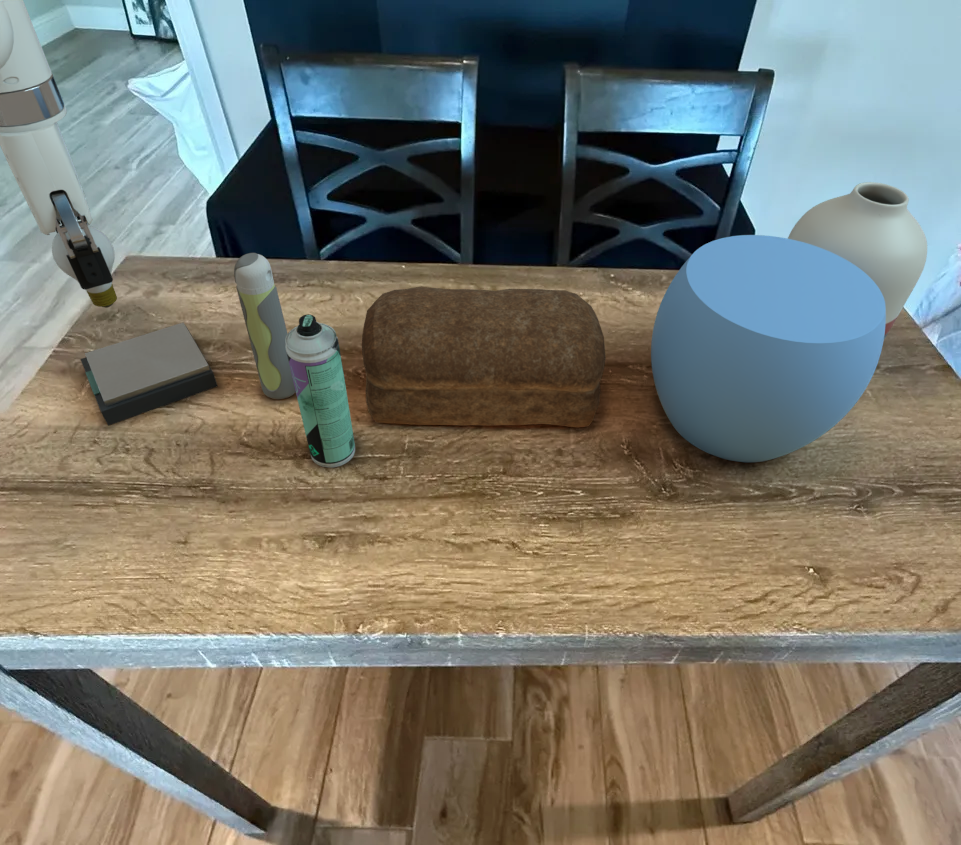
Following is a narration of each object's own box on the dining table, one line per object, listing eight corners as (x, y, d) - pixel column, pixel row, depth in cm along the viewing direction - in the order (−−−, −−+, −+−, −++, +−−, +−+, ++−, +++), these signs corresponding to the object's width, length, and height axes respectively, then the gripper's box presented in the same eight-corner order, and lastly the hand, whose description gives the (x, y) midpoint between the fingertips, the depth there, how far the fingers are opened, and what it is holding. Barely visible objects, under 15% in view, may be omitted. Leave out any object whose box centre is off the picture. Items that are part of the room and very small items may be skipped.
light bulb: (99, 288, 81) (65, 210, 74) (144, 295, 80) (114, 217, 73) (68, 317, 77) (29, 237, 70) (115, 324, 76) (80, 245, 69)
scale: (108, 426, 85) (97, 406, 83) (87, 373, 92) (77, 353, 90) (217, 386, 91) (211, 366, 88) (190, 339, 98) (183, 319, 95)
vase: (761, 299, 109) (817, 153, 92) (874, 328, 104) (954, 180, 87) (743, 359, 98) (802, 207, 81) (868, 395, 93) (959, 241, 76)
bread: (600, 434, 86) (618, 354, 77) (361, 429, 86) (349, 348, 76) (586, 350, 98) (600, 272, 89) (376, 345, 98) (368, 266, 88)
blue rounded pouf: (865, 483, 81) (953, 352, 67) (662, 491, 80) (707, 358, 65) (785, 352, 99) (841, 226, 85) (618, 356, 97) (645, 228, 83)
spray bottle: (290, 404, 89) (259, 273, 75) (256, 397, 89) (218, 266, 75) (306, 380, 92) (278, 250, 78) (273, 374, 93) (240, 244, 79)
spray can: (347, 429, 86) (325, 298, 72) (361, 459, 82) (341, 327, 68) (305, 443, 84) (273, 310, 70) (317, 473, 80) (287, 341, 66)
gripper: (-41, 79, 66) (40, 244, 78) (-19, 143, 56) (70, 320, 68) (44, 66, 69) (108, 227, 81) (79, 125, 59) (146, 298, 71)
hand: (90, 268), depth 75 cm, fingers closed on light bulb, 5 cm apart
